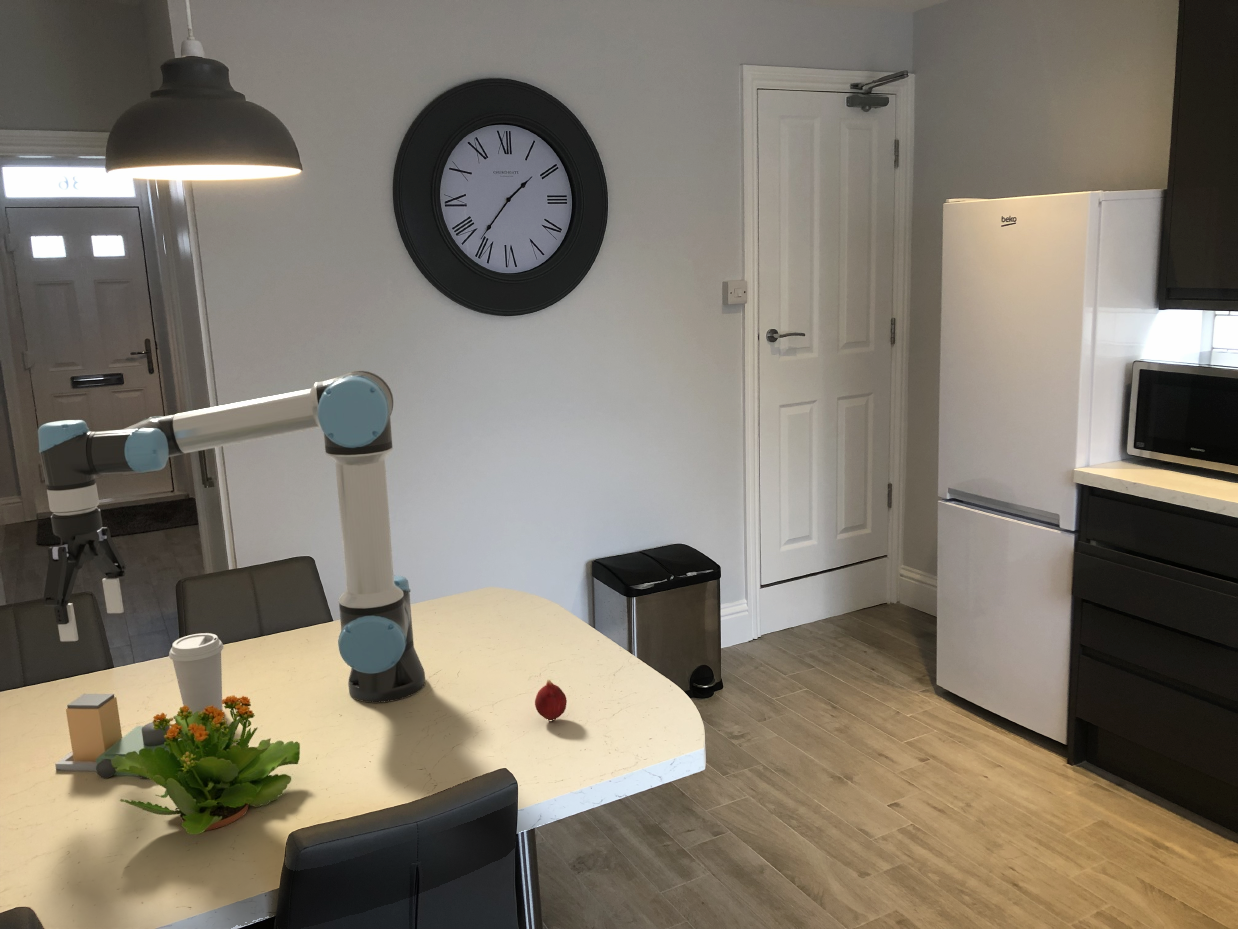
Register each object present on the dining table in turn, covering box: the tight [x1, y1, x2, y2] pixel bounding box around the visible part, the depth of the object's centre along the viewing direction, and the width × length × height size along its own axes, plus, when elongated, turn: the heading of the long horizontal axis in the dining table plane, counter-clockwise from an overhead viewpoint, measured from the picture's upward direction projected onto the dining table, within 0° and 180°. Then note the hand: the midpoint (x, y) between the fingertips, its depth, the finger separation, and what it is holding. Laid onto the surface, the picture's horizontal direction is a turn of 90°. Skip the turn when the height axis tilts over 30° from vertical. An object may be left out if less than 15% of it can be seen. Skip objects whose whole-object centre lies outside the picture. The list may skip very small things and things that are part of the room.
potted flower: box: [111, 695, 301, 835], centre depth 146 cm, size 25×24×18 cm
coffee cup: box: [168, 632, 224, 714], centre depth 182 cm, size 10×10×15 cm
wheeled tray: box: [55, 721, 182, 780], centre depth 167 cm, size 20×14×6 cm
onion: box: [534, 679, 568, 721], centre depth 175 cm, size 6×6×8 cm
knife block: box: [65, 693, 123, 762], centre depth 167 cm, size 6×5×11 cm
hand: (93, 626), depth 169 cm, fingers open, 13 cm apart
